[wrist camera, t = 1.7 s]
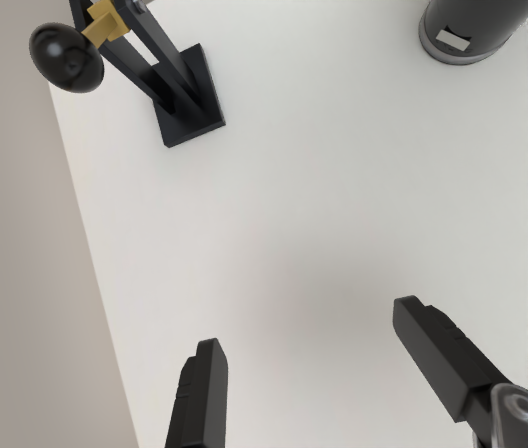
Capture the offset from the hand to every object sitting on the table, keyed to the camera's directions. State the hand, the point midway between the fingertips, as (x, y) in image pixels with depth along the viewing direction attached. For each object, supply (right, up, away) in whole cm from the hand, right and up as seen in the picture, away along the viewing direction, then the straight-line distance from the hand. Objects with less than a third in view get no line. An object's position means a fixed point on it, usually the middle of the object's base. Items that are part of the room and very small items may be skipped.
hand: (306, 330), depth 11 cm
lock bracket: (-13, +23, +24) cm, 35 cm away
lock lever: (-14, +18, +9) cm, 25 cm away
